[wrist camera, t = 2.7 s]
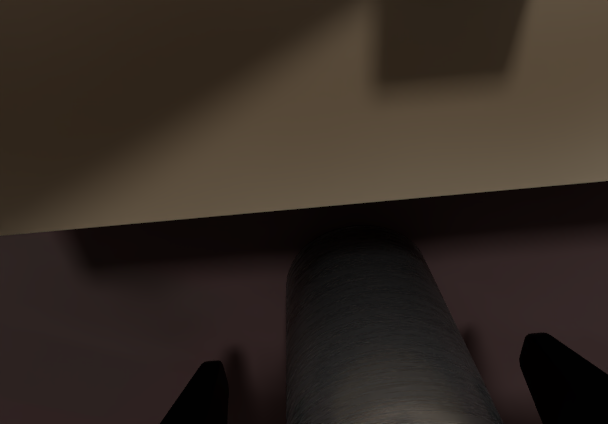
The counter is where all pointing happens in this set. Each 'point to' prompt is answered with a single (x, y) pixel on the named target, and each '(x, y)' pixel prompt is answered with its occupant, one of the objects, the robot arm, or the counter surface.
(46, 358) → the counter surface
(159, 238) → the counter surface
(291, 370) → the peg
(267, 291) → the counter surface
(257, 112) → the block
